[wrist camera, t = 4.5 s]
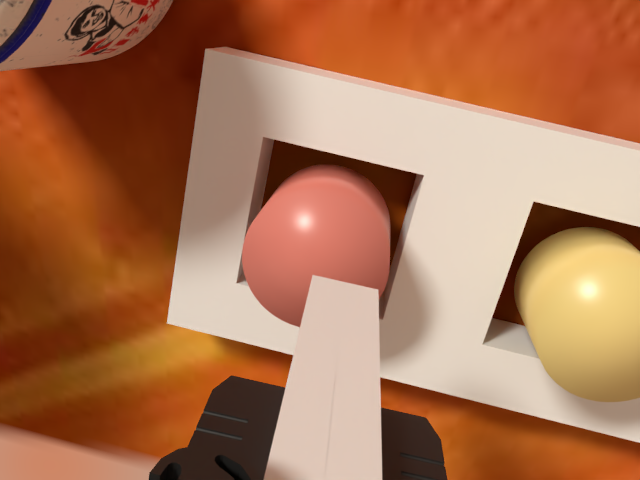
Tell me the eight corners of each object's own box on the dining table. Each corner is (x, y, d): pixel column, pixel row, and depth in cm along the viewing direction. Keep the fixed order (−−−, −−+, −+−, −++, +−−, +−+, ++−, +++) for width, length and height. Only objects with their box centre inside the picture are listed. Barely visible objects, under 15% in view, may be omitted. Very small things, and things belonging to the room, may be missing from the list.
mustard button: (497, 326, 21) (516, 381, 18) (538, 213, 20) (567, 250, 17) (618, 356, 21) (660, 417, 18) (668, 244, 20) (725, 288, 16)
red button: (256, 267, 22) (231, 310, 18) (278, 150, 20) (255, 175, 17) (373, 295, 22) (369, 344, 18) (404, 181, 20) (407, 211, 17)
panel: (188, 295, 25) (166, 323, 22) (226, 46, 21) (205, 48, 19) (869, 465, 24) (921, 514, 21) (1027, 234, 20) (1110, 261, 18)
